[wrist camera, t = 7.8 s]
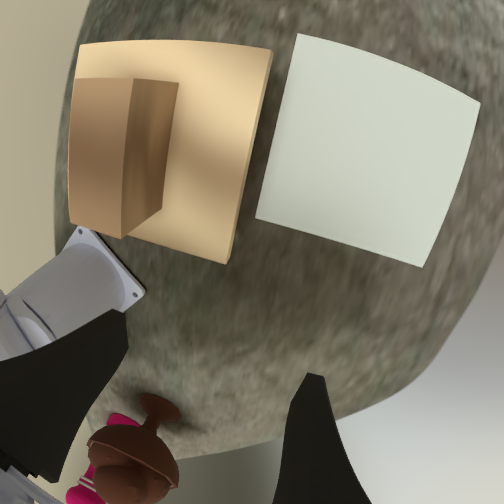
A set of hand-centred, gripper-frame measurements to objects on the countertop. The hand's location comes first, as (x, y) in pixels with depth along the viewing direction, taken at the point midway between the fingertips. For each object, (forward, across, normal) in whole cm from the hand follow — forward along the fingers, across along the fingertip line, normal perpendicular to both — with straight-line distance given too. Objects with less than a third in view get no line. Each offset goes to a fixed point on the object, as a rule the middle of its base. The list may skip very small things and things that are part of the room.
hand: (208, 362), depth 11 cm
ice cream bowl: (+10, +7, +25) cm, 28 cm away
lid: (+6, +6, -6) cm, 10 cm away
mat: (+10, -5, -8) cm, 14 cm away
